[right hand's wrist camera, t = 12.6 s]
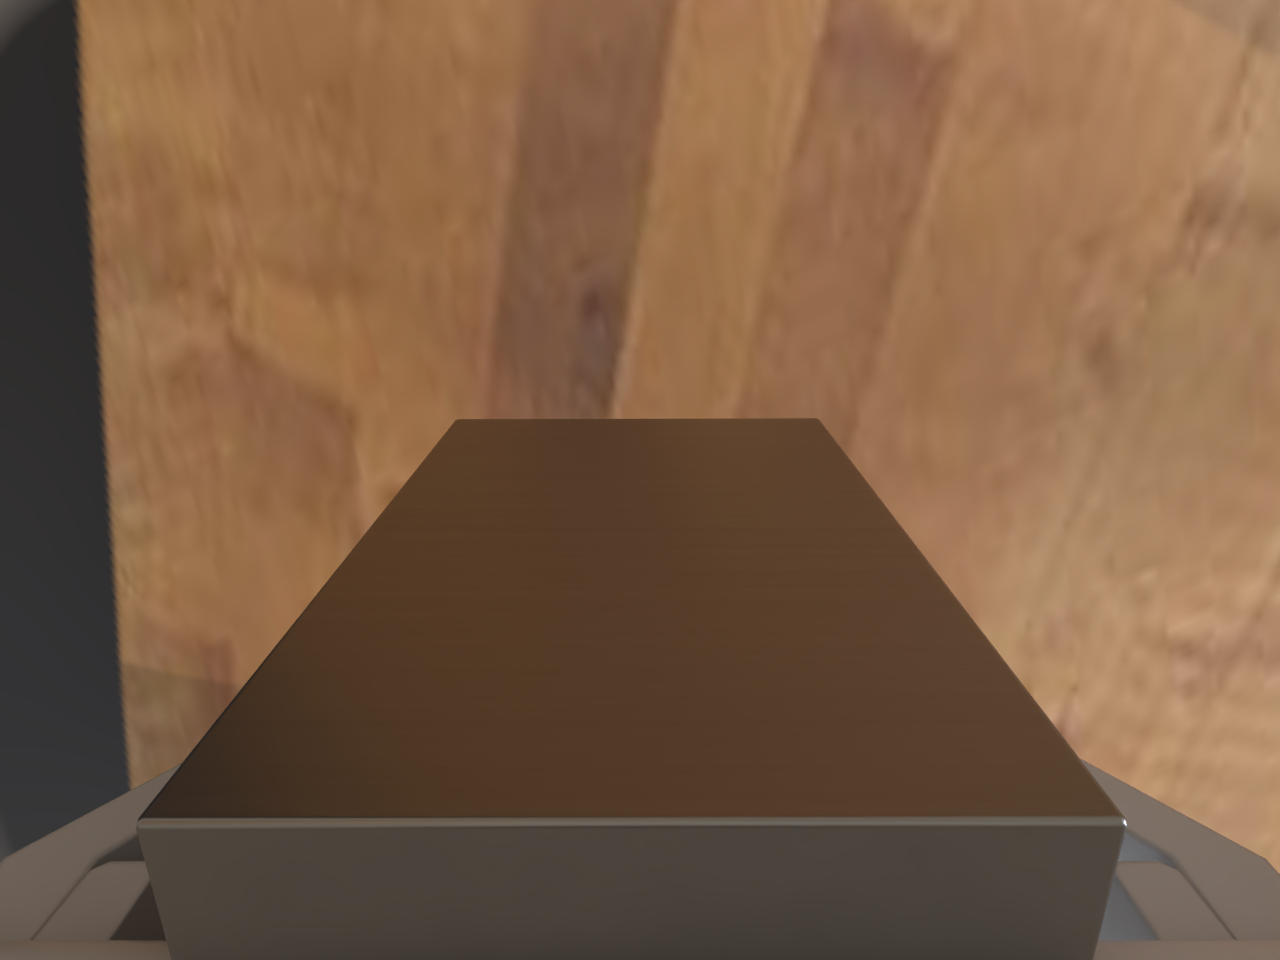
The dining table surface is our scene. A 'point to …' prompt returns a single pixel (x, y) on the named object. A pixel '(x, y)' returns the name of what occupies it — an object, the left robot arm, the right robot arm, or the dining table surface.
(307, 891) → the bar
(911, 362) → the dining table surface
